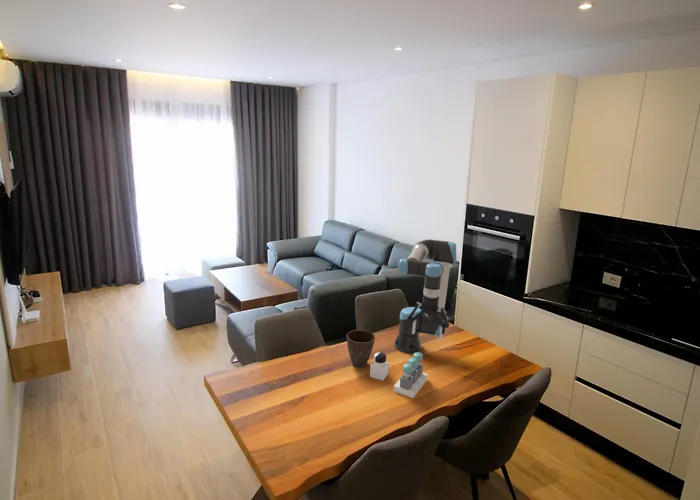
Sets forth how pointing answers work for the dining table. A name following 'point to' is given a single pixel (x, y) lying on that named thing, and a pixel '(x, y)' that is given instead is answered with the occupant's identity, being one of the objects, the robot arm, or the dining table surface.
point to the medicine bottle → (379, 367)
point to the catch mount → (411, 383)
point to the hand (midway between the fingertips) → (426, 336)
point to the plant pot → (360, 346)
